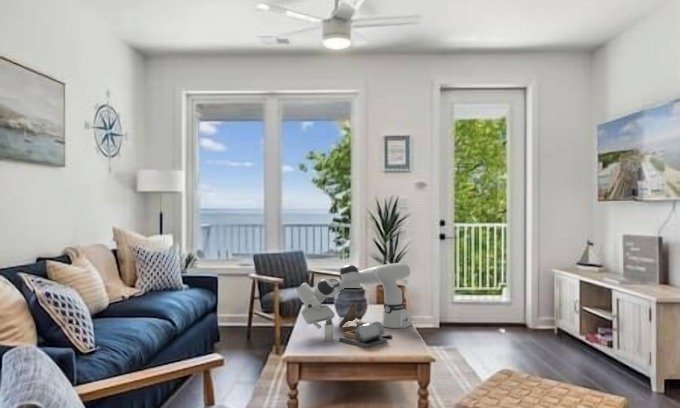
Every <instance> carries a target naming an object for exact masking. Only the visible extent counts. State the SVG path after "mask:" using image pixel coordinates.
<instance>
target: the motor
mask: <svg viewBox="0 0 680 408" xmlns="http://www.w3.org/2000/svg"><path fill="white" fill-rule="evenodd" d="M381 323H382V322H380V321H372V322H369V323H365V324H361V325H358V327H355V329H353V330H349V331H346V332H344V336H340V337H338V342H342V343H345V344H350V345H353V346H359V347H363V348H367V349H370V348H374V347H377V346H380V345H383V344H386V343H388V338H386V337H383V336H384V333H385V329H384V328H385V327H384V326H383V325H382V324H381Z"/></svg>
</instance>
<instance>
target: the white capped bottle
mask: <svg viewBox="0 0 680 408" xmlns="http://www.w3.org/2000/svg"><path fill="white" fill-rule="evenodd" d="M332 322H333V320H332V321H331V320H325V323H324V341H326V342H333V341H334V323H333V324H332Z"/></svg>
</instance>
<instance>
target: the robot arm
mask: <svg viewBox="0 0 680 408" xmlns="http://www.w3.org/2000/svg"><path fill="white" fill-rule="evenodd" d="M339 275H340V277H341V279H340V278H335V277H334V278H330V279H327V278H322V279H320V280H319V282H318V283H317V284H316V285H315V286H313V288H311V286H310V284H308V283H307V282H303V283H301V284H300V285H299V286H298V287H297V288H296V293H297V296H298V298H299V300H300V301H301V303H303V305H304V308H303V309H302V310H301V311H300V313H301V315H302V317H303V320H304V321H305V323H306V324H307V325H312V324H313V326H315V327H316V328H317V329H318V330H319V329H321V328H322V325H321V324H319V323H321V322H324V321H325V322H326V321H327V320H331V321H332V324H333V325H334V322H333V318H335V312H334V311H333V309H332V308H330V306H329V305H326V304H324V305H322V303H323V302H324V301H325V300H326V299H327V298H334V297H337V296H338V295H340V294H341V293H340V291H341V290H342V289H344V288H361V289H362V287H361V285H365V286H366V285H369V286H371V285H379V284H381V286H382V287H383V295H384V296H383V297H384V301H383V311H382V321H381V322H380V323H381V324H382V325H383V327H384V328H390V329H392V328H393V329H396V328H398V329H399V328H400V329H404V328H405V329H406V328H408V327H410V326H413V325H415V324H416V322H415V320H412V315H411V313H410V312H409V311H407V310H406V309H405V307H407V305H408V304H407V303H406V302H403V291H402V289H401V287H399V286H398V285H397V282H398V281H402V280H406V279H407V278H409V276H410V275H411V269H410V267H409V265H408V264H407V263H404V262H395V263H393V262H392V263H387V264H382V265H378V266H373V267H368V268H365V269H362V270H359V268H358V267H356V266H355V265H353V264H344V265H343V266H342V267H340V269H339Z"/></svg>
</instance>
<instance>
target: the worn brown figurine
mask: <svg viewBox="0 0 680 408" xmlns="http://www.w3.org/2000/svg"><path fill="white" fill-rule="evenodd" d="M355 303H356V300H355V299H354V300H353V302H352V304H351V305H350V307H349V309H348V310H347V311H346V312H347V313H346V314H345V316H344V317H343V319H342V320H341V321H340V323H339V324H338V327H339V328H341V327H342V326H343V325H344V324H345V323H346V322H348V321H353V320H355V321H356V317H357V312H356V311H357V305H356V304H355Z"/></svg>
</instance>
